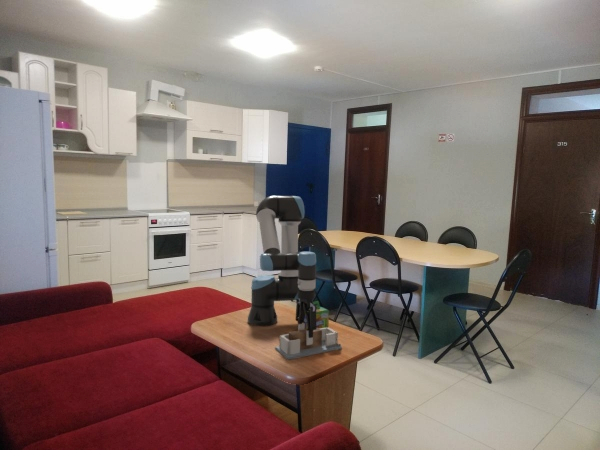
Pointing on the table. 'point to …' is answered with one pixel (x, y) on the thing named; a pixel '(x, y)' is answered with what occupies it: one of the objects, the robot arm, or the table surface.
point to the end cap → (329, 336)
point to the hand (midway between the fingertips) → (305, 341)
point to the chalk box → (320, 317)
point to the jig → (292, 348)
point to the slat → (302, 336)
